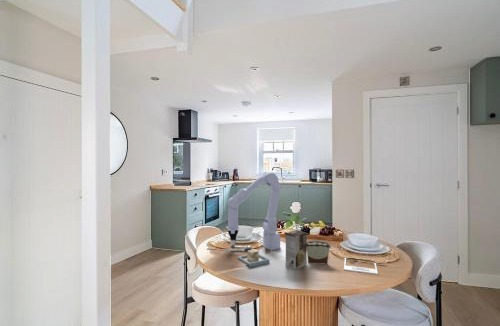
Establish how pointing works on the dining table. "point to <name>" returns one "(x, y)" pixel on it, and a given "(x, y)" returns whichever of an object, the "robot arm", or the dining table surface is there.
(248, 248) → the crank lever
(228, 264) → the dining table surface
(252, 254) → the block
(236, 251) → the board
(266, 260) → the tray
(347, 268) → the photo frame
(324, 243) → the food container
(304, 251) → the coffee box
